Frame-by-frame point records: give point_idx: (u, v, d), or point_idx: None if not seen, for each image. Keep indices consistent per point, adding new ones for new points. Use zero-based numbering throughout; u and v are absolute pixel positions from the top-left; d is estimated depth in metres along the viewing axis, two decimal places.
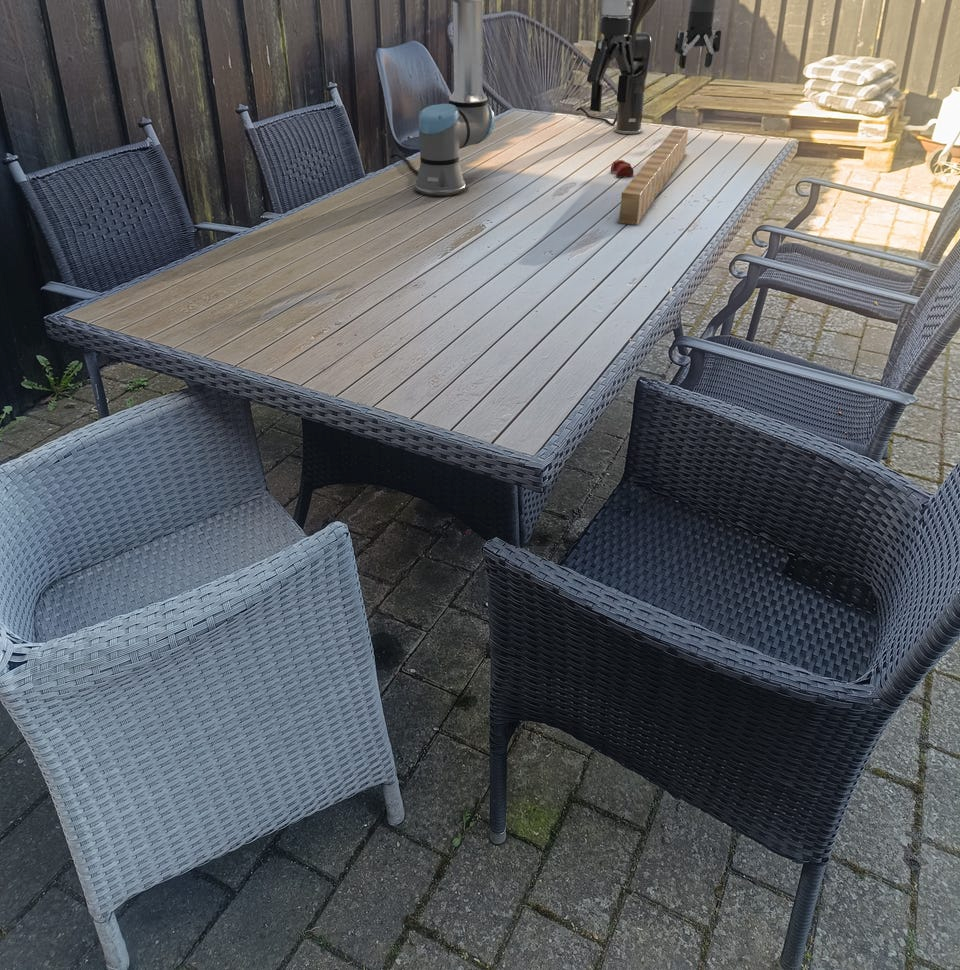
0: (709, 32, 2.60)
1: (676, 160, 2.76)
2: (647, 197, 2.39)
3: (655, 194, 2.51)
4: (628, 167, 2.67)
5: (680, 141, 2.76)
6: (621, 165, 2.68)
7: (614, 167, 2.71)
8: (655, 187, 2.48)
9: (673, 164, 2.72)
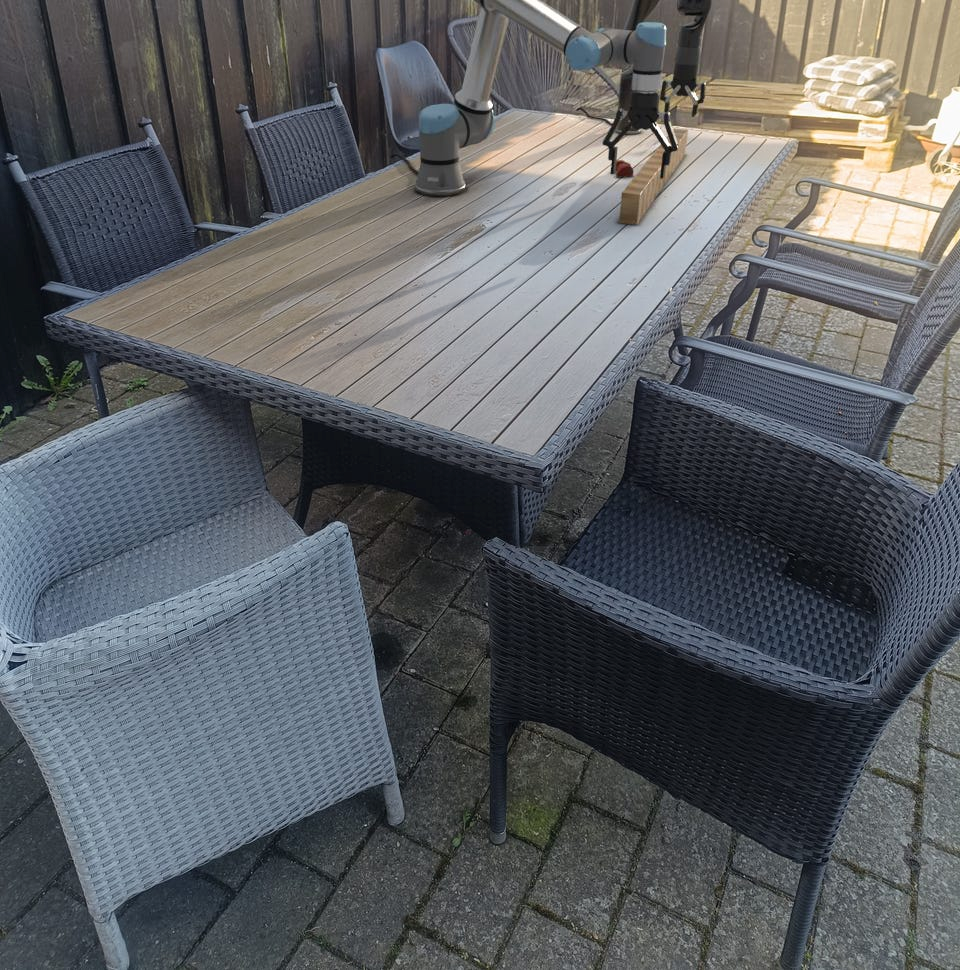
0: (692, 83, 2.72)
1: (676, 160, 2.76)
2: (647, 197, 2.39)
3: (655, 194, 2.51)
4: (628, 167, 2.67)
5: (680, 141, 2.76)
6: (621, 165, 2.68)
7: None
8: (655, 187, 2.48)
9: (673, 164, 2.72)
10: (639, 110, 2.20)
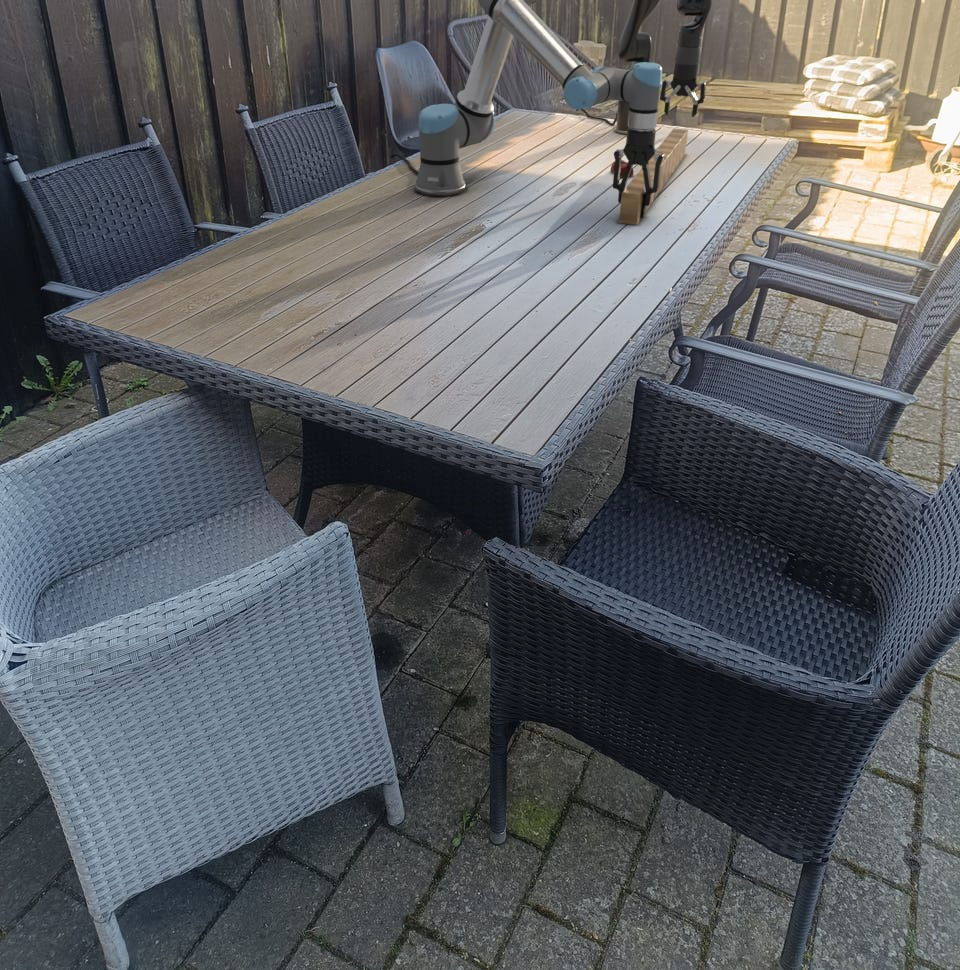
0: (692, 83, 2.72)
1: (676, 160, 2.76)
2: None
3: (655, 194, 2.51)
4: None
5: (680, 141, 2.76)
6: (621, 165, 2.68)
7: (614, 167, 2.71)
8: None
9: (673, 164, 2.72)
10: (635, 146, 2.26)
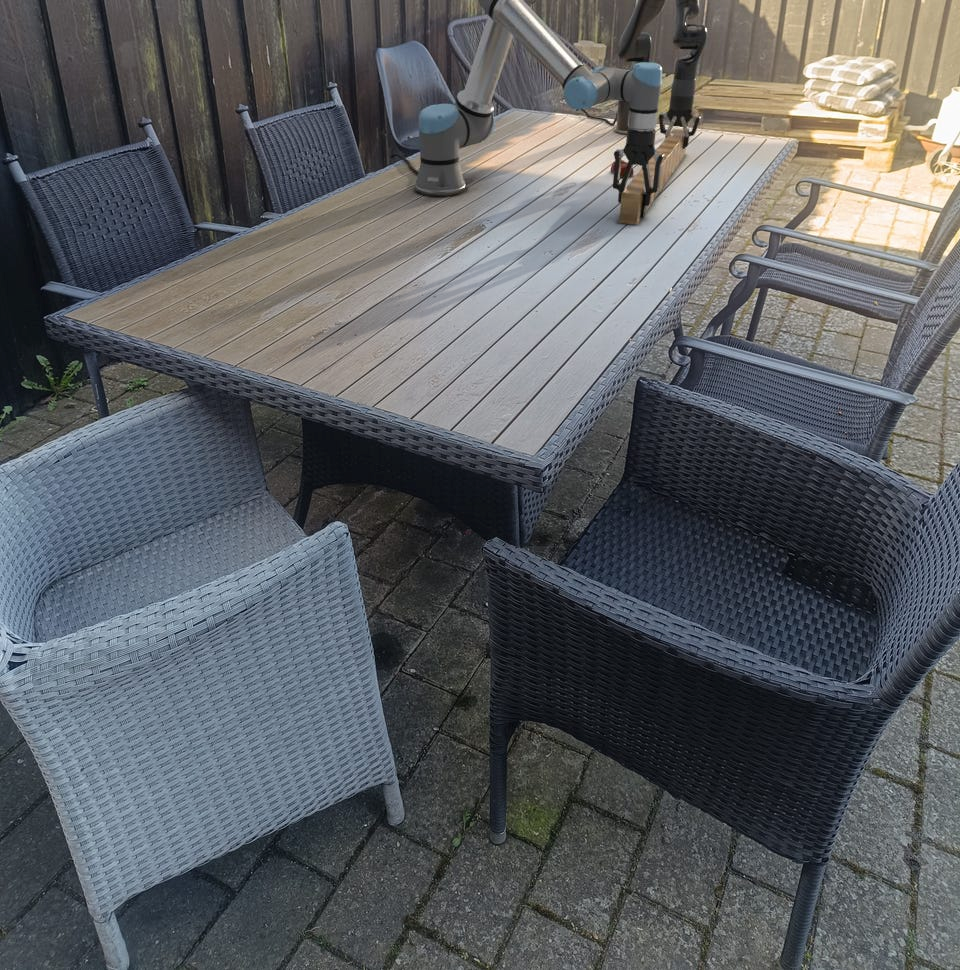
0: (687, 114, 2.77)
1: (676, 160, 2.76)
2: None
3: (655, 194, 2.51)
4: None
5: (680, 141, 2.76)
6: (621, 165, 2.68)
7: (614, 167, 2.71)
8: None
9: (673, 164, 2.72)
10: (635, 146, 2.26)
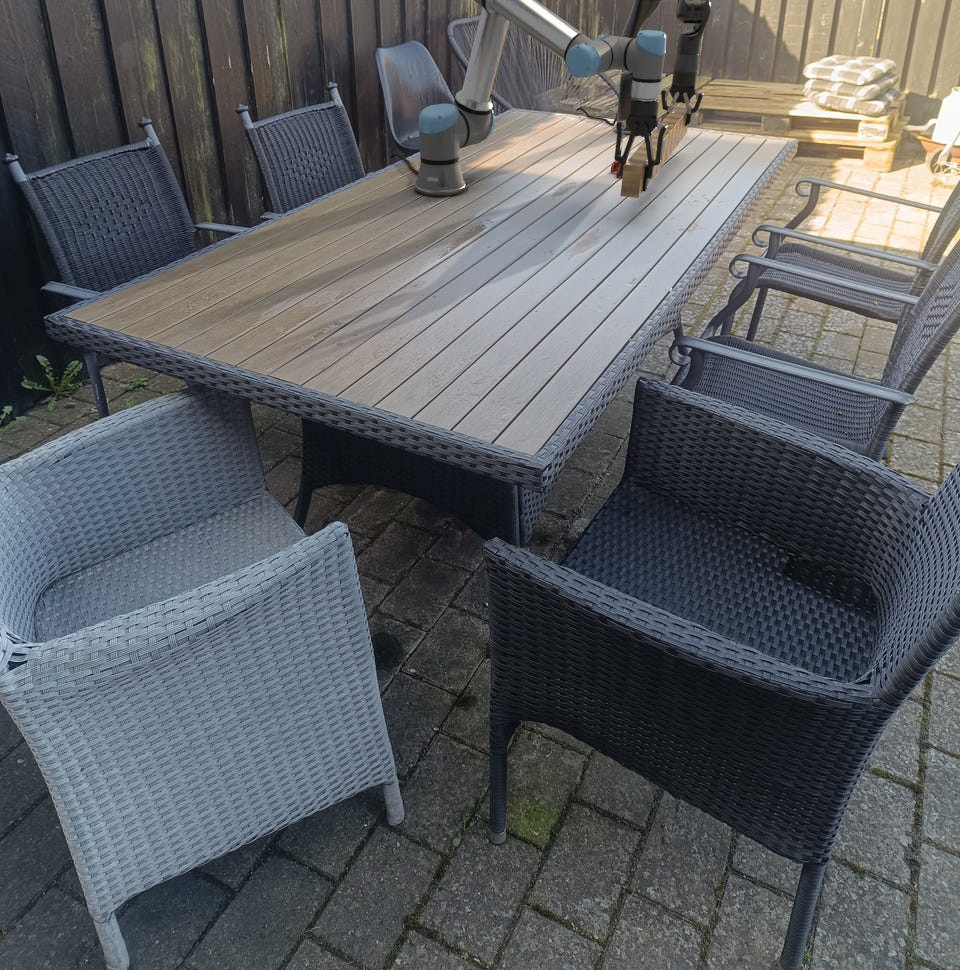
0: (690, 90, 2.73)
1: (678, 137, 2.72)
2: None
3: (657, 169, 2.47)
4: None
5: (682, 117, 2.71)
6: None
7: (614, 167, 2.71)
8: None
9: (675, 140, 2.68)
10: (638, 117, 2.21)
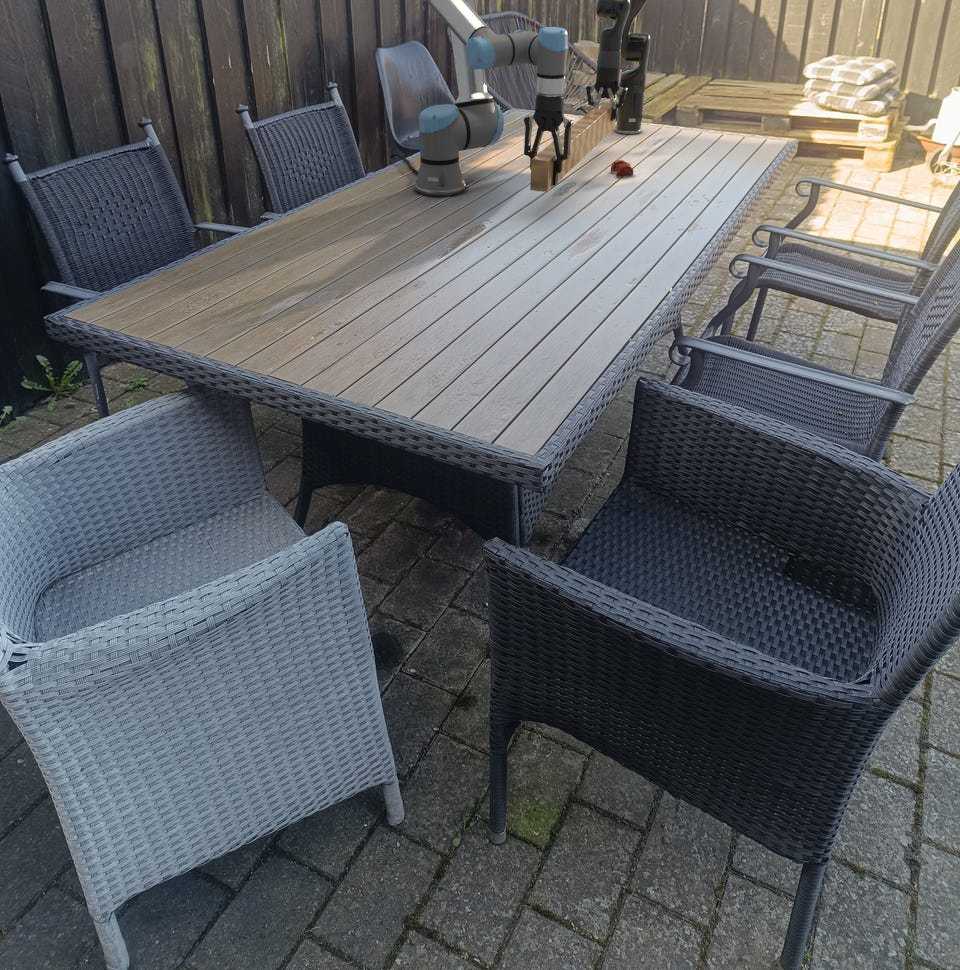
0: (614, 86, 2.77)
1: (602, 132, 2.76)
2: None
3: (573, 163, 2.51)
4: (628, 167, 2.67)
5: (606, 112, 2.75)
6: (621, 165, 2.68)
7: (614, 167, 2.71)
8: (572, 156, 2.48)
9: (598, 135, 2.72)
10: (544, 113, 2.25)
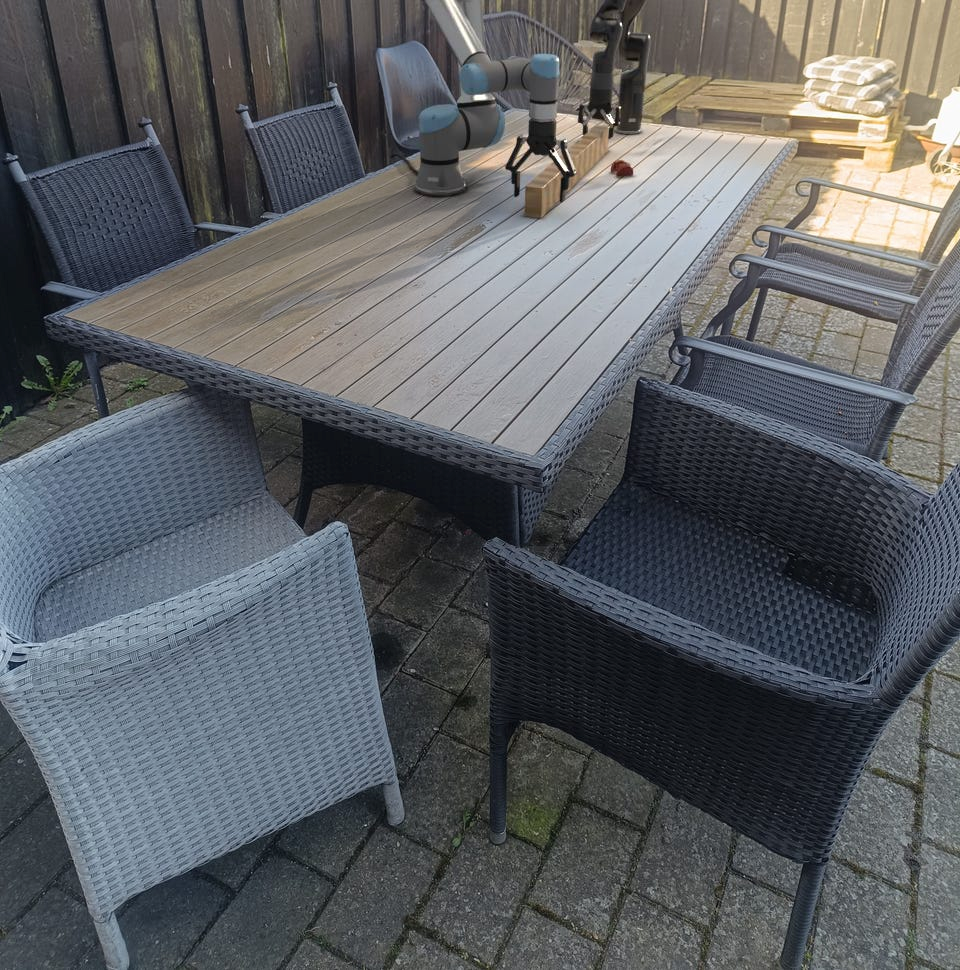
0: (607, 107, 2.81)
1: (595, 156, 2.81)
2: (554, 191, 2.44)
3: None
4: (628, 167, 2.67)
5: (599, 137, 2.80)
6: (621, 165, 2.68)
7: (614, 167, 2.71)
8: None
9: (591, 159, 2.76)
10: (537, 137, 2.29)
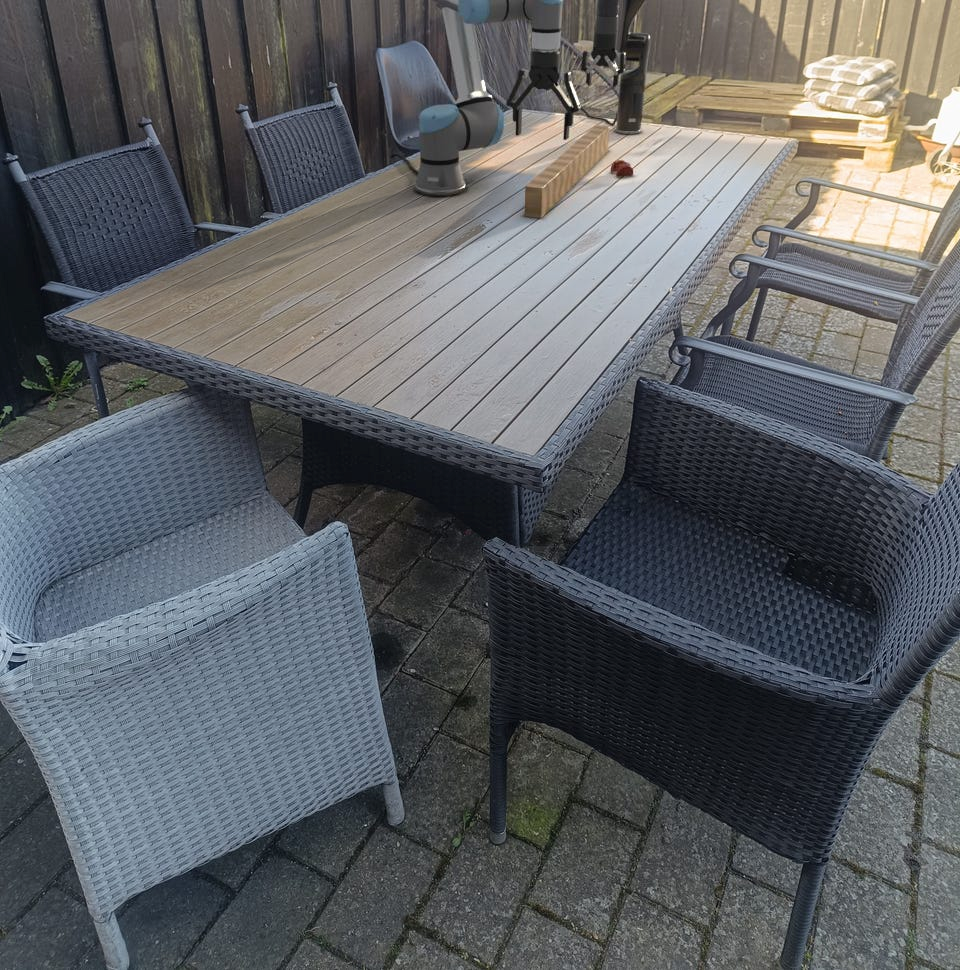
0: (611, 53, 2.72)
1: (595, 155, 2.81)
2: (554, 191, 2.44)
3: (566, 188, 2.55)
4: (628, 167, 2.67)
5: (599, 137, 2.80)
6: (621, 165, 2.68)
7: (614, 167, 2.71)
8: (565, 181, 2.53)
9: (591, 159, 2.76)
10: (540, 70, 2.19)
